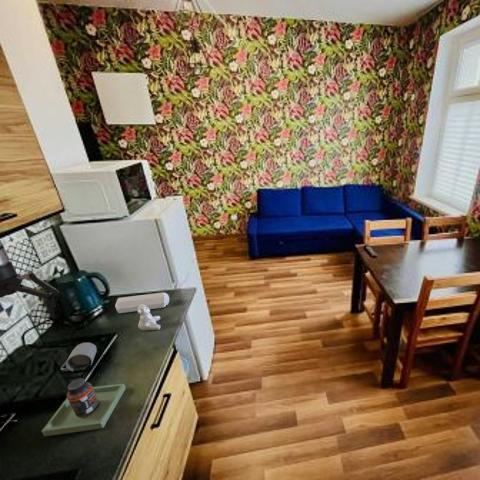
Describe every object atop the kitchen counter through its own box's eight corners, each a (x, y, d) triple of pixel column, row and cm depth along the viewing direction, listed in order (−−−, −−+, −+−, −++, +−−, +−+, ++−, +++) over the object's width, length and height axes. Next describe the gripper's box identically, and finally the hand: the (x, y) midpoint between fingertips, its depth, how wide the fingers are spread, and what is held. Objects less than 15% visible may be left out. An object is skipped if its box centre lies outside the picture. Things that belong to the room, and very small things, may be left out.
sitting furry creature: (161, 330, 120) (154, 308, 115) (138, 336, 116) (131, 314, 111) (160, 317, 127) (155, 296, 122) (139, 323, 123) (133, 302, 119)
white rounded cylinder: (109, 311, 125) (166, 303, 131) (113, 297, 129) (167, 290, 135) (117, 317, 131) (170, 309, 137) (120, 303, 135) (172, 296, 141)
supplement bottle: (98, 412, 84) (86, 387, 80) (74, 422, 81) (60, 396, 77) (101, 397, 89) (90, 372, 85) (78, 405, 86) (65, 380, 82)
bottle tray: (44, 436, 78) (41, 431, 77) (75, 394, 90) (73, 389, 90) (103, 428, 80) (100, 423, 80) (125, 388, 93) (124, 383, 92)
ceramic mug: (100, 352, 107) (93, 337, 104) (95, 367, 101) (88, 352, 98) (66, 362, 103) (58, 347, 100) (59, 378, 96) (50, 362, 93)
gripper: (-92, 291, 60) (-44, 361, 68) (56, 253, 78) (80, 312, 87) (-91, 280, 64) (-46, 347, 72) (49, 247, 82) (73, 303, 91)
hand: (23, 328), depth 79 cm, fingers open, 13 cm apart
